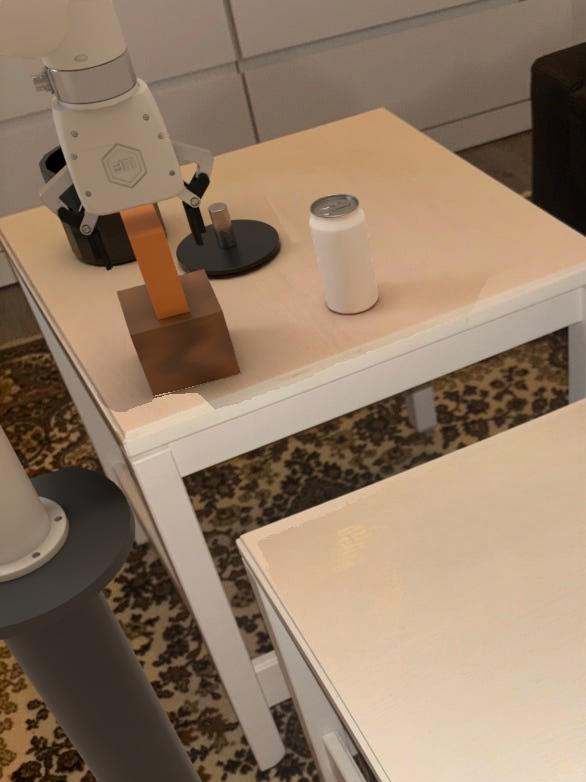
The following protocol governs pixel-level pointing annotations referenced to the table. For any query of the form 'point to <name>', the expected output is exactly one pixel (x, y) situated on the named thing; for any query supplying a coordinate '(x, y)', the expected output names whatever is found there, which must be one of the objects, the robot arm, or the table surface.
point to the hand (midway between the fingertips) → (153, 252)
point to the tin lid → (228, 244)
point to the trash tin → (107, 224)
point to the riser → (180, 337)
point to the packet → (155, 261)
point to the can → (343, 253)
